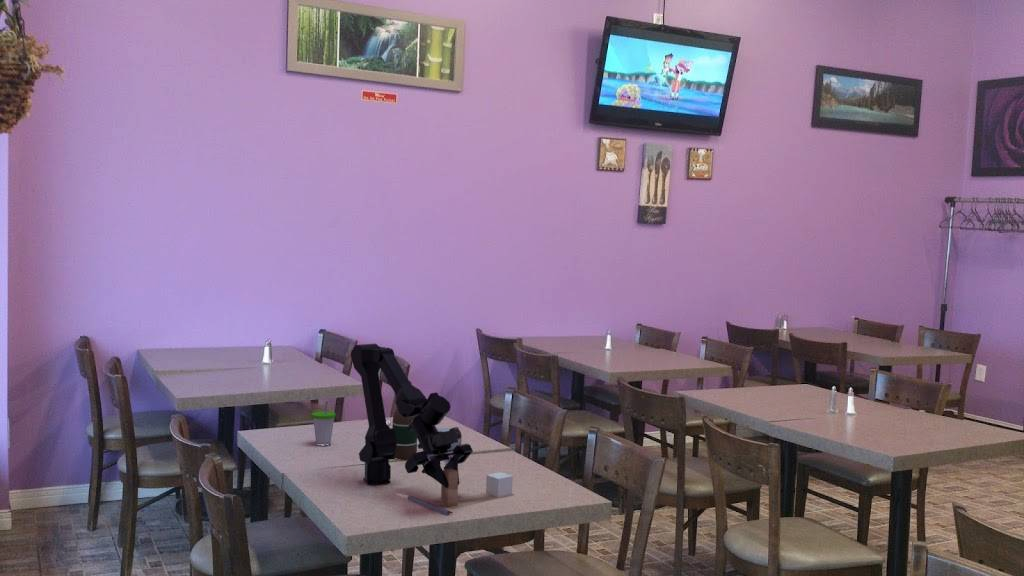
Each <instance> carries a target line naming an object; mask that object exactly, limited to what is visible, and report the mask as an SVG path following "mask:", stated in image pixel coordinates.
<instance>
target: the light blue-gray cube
mask: <svg viewBox="0 0 1024 576" xmlns="http://www.w3.org/2000/svg"><path fill="white" fill-rule="evenodd" d="M513 478H514V477H513V475H510V474H507V473H504V472H501V471H499V472H494V473H489V474H486V480H485V482H486V483H485V484H486V485H485V493H487V494H490V495H492V496H495V497H502V498H504V497H503V496H506V497H508V496H507V495H511V494H513V480H514V479H513ZM511 496H512V495H511Z"/></svg>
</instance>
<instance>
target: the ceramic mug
mask: <svg viewBox="0 0 1024 576" xmlns="http://www.w3.org/2000/svg"><path fill="white" fill-rule="evenodd" d="M436 428H437V430H438V432H440V431H442V432H445V431H449V430H450V429H452V428H453V427H436ZM457 445H462V438H461V439H458V442H457V443H456V442H455V443H453V444H451V446H452V447H451V448H450V449H448V452H451V451H453V449H454V448H455V447H456V446H457Z"/></svg>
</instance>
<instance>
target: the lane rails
mask: <svg viewBox="0 0 1024 576" xmlns="http://www.w3.org/2000/svg"><path fill="white" fill-rule="evenodd" d="M406 500H407V501H409V502H412V503H414V504H417V505H419V506H422V507H425V508H427V509H429V508H430V510H432V511H434V510H435V511H434V512H437V513H439V512H440V514H441V515H444V516H450V515H451V513H450V510H449V509H448V510H447V509H445V508H444V507H443V508H442V507H441V506H439V505H438V506H437V505H436V504H432V503H431V502H428V501H424V500H423V499H420V498H417V497H414V496H413V495H408V496H407V499H406Z"/></svg>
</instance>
